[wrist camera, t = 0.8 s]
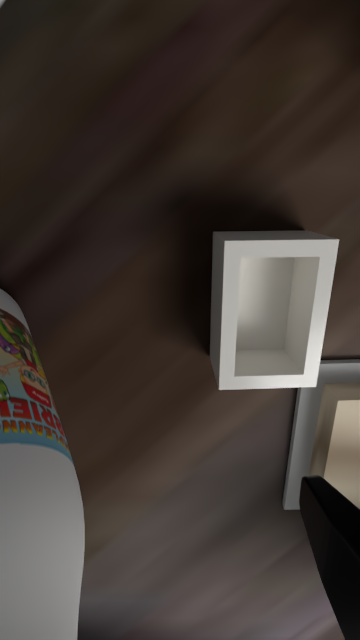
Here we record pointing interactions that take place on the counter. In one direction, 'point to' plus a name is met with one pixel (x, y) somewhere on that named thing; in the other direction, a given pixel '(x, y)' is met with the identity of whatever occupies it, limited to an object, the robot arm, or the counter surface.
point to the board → (339, 439)
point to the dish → (269, 307)
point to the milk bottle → (35, 497)
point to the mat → (311, 423)
